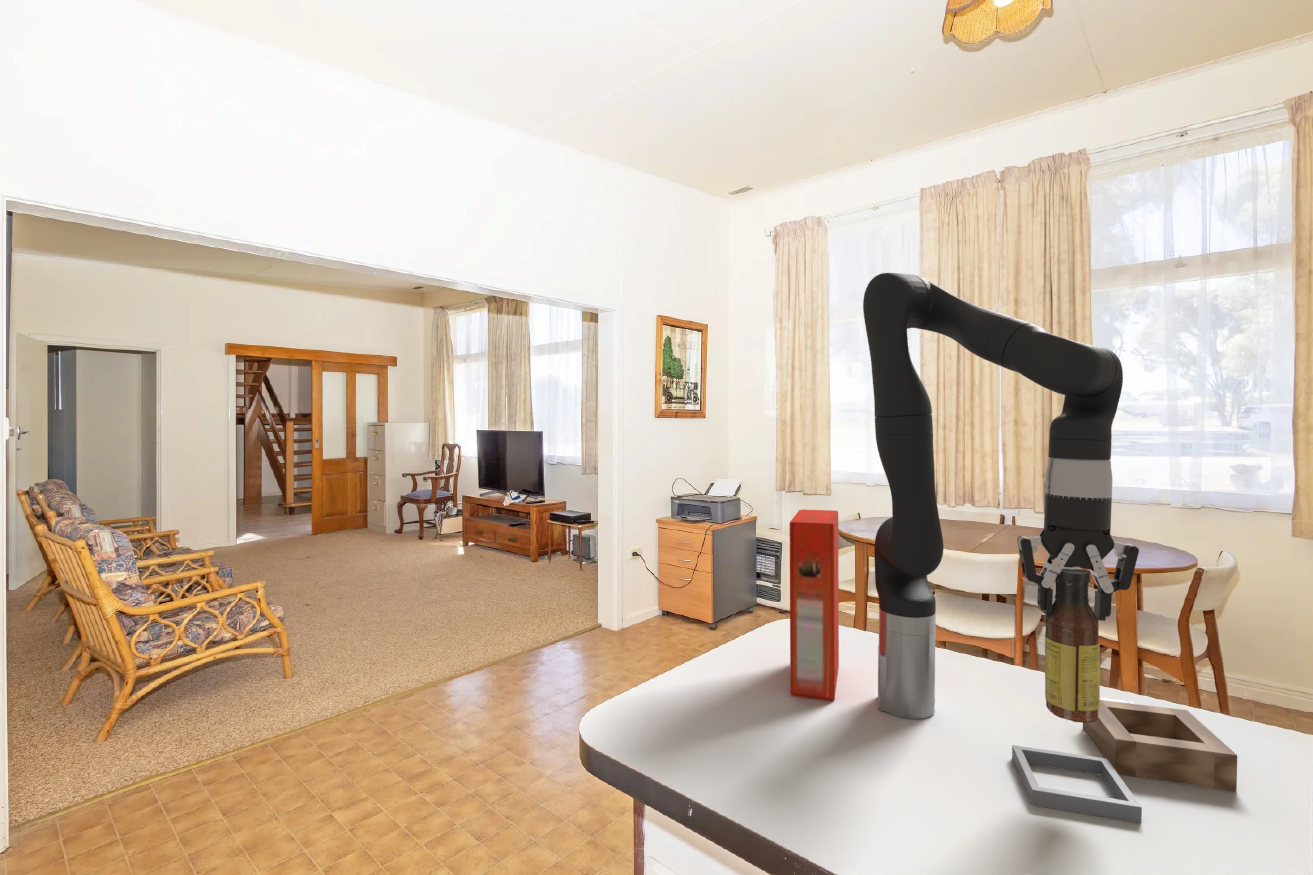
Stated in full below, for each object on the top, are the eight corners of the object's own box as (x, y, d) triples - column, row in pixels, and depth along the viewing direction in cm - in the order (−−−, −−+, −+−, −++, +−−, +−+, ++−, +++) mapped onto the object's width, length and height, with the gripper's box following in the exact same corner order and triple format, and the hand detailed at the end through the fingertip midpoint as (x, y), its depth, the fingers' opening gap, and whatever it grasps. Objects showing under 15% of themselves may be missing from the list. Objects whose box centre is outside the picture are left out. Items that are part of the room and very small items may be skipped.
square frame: (1032, 804, 83) (1032, 789, 82) (1012, 758, 94) (1012, 744, 94) (1141, 822, 79) (1141, 807, 79) (1106, 772, 90) (1106, 758, 90)
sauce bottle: (1094, 710, 87) (1100, 567, 87) (1103, 729, 82) (1110, 577, 81) (1039, 700, 90) (1045, 562, 90) (1044, 718, 85) (1051, 571, 84)
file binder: (788, 695, 115) (789, 521, 115) (798, 661, 132) (799, 508, 131) (834, 701, 113) (835, 523, 112) (838, 666, 129) (839, 510, 128)
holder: (1114, 773, 90) (1115, 738, 90) (1082, 728, 103) (1083, 697, 103) (1236, 791, 85) (1237, 755, 85) (1186, 741, 99) (1187, 710, 99)
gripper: (1023, 492, 84) (1019, 618, 84) (1153, 498, 79) (1148, 631, 80) (1011, 487, 91) (1007, 603, 92) (1130, 492, 86) (1125, 614, 87)
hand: (1073, 615), depth 86 cm, fingers closed on sauce bottle, 5 cm apart
